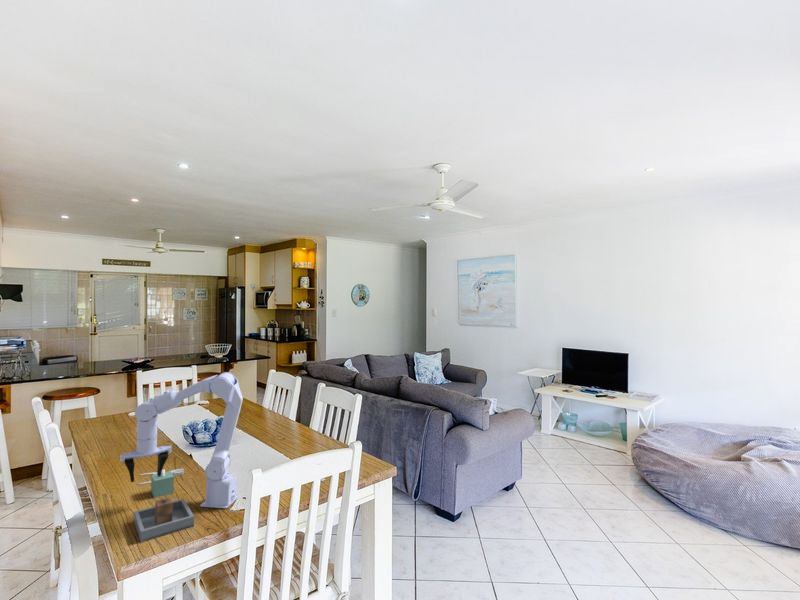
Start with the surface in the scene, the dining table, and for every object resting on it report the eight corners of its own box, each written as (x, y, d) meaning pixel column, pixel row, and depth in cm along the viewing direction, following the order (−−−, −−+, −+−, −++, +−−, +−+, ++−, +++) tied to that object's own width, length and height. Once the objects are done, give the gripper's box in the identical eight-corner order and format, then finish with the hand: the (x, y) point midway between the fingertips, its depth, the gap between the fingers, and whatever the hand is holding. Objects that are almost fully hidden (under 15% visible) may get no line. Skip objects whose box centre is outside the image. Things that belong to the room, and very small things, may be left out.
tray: (183, 507, 136) (183, 498, 136) (194, 526, 125) (194, 516, 125) (133, 521, 127) (133, 511, 127) (140, 542, 116) (140, 531, 116)
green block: (169, 487, 150) (170, 465, 150) (173, 493, 146) (173, 471, 146) (150, 491, 146) (151, 469, 146) (153, 498, 142) (154, 475, 142)
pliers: (140, 471, 159) (183, 465, 167) (140, 475, 159) (183, 469, 167) (138, 481, 151) (184, 474, 158) (138, 486, 151) (183, 478, 158)
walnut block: (169, 516, 129) (170, 497, 129) (172, 521, 126) (172, 502, 126) (154, 520, 126) (155, 500, 126) (157, 526, 123) (157, 506, 123)
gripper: (169, 430, 144) (167, 468, 144) (119, 438, 134) (118, 479, 134) (173, 435, 138) (172, 475, 138) (122, 444, 129) (120, 487, 129)
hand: (145, 478), depth 136 cm, fingers open, 7 cm apart
